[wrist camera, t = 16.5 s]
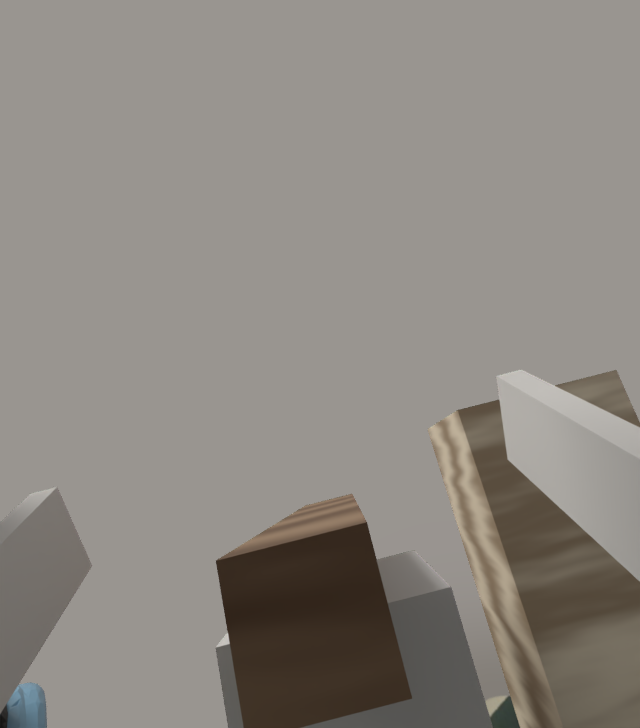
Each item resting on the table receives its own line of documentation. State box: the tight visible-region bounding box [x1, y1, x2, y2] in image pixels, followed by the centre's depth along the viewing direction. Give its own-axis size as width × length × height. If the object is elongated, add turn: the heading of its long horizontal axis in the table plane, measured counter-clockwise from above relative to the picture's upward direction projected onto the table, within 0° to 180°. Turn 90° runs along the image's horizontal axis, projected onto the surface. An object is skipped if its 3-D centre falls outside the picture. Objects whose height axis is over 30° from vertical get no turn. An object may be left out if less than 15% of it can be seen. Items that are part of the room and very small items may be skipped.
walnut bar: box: [216, 494, 412, 728], centre depth 23 cm, size 26×4×4 cm, turn 177°
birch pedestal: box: [428, 370, 640, 728], centre depth 34 cm, size 12×12×30 cm
